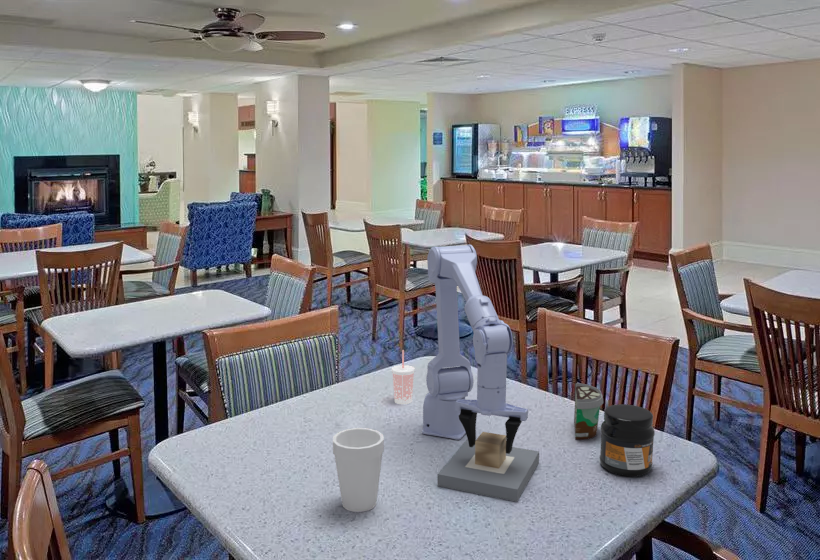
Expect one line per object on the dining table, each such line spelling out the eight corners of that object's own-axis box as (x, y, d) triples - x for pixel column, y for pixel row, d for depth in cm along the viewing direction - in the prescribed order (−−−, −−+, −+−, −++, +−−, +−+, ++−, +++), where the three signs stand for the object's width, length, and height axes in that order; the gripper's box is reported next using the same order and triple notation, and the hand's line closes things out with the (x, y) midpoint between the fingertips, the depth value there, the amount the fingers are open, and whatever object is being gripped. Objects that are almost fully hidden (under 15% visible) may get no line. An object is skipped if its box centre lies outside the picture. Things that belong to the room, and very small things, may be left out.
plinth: (437, 485, 136) (437, 473, 135) (466, 449, 152) (467, 438, 151) (517, 501, 129) (517, 488, 129) (538, 462, 146) (539, 450, 145)
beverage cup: (415, 397, 184) (415, 347, 182) (413, 406, 178) (413, 353, 176) (393, 396, 185) (392, 346, 182) (390, 405, 179) (389, 353, 176)
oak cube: (474, 464, 139) (475, 440, 138) (482, 454, 144) (482, 431, 143) (498, 468, 137) (499, 444, 136) (505, 458, 142) (506, 435, 141)
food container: (603, 444, 154) (605, 402, 153) (575, 442, 156) (577, 400, 154) (600, 423, 166) (601, 383, 164) (573, 421, 167) (575, 382, 166)
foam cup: (335, 492, 133) (333, 428, 131) (383, 490, 134) (382, 426, 132) (333, 517, 124) (332, 450, 122) (385, 515, 125) (384, 448, 122)
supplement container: (638, 483, 136) (642, 426, 134) (589, 467, 143) (592, 412, 141) (660, 466, 144) (664, 411, 142) (613, 451, 151) (616, 399, 149)
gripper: (450, 385, 136) (449, 450, 139) (522, 395, 131) (520, 462, 133) (462, 375, 143) (461, 436, 145) (531, 384, 137) (529, 448, 140)
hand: (490, 448), depth 140 cm, fingers open, 7 cm apart
